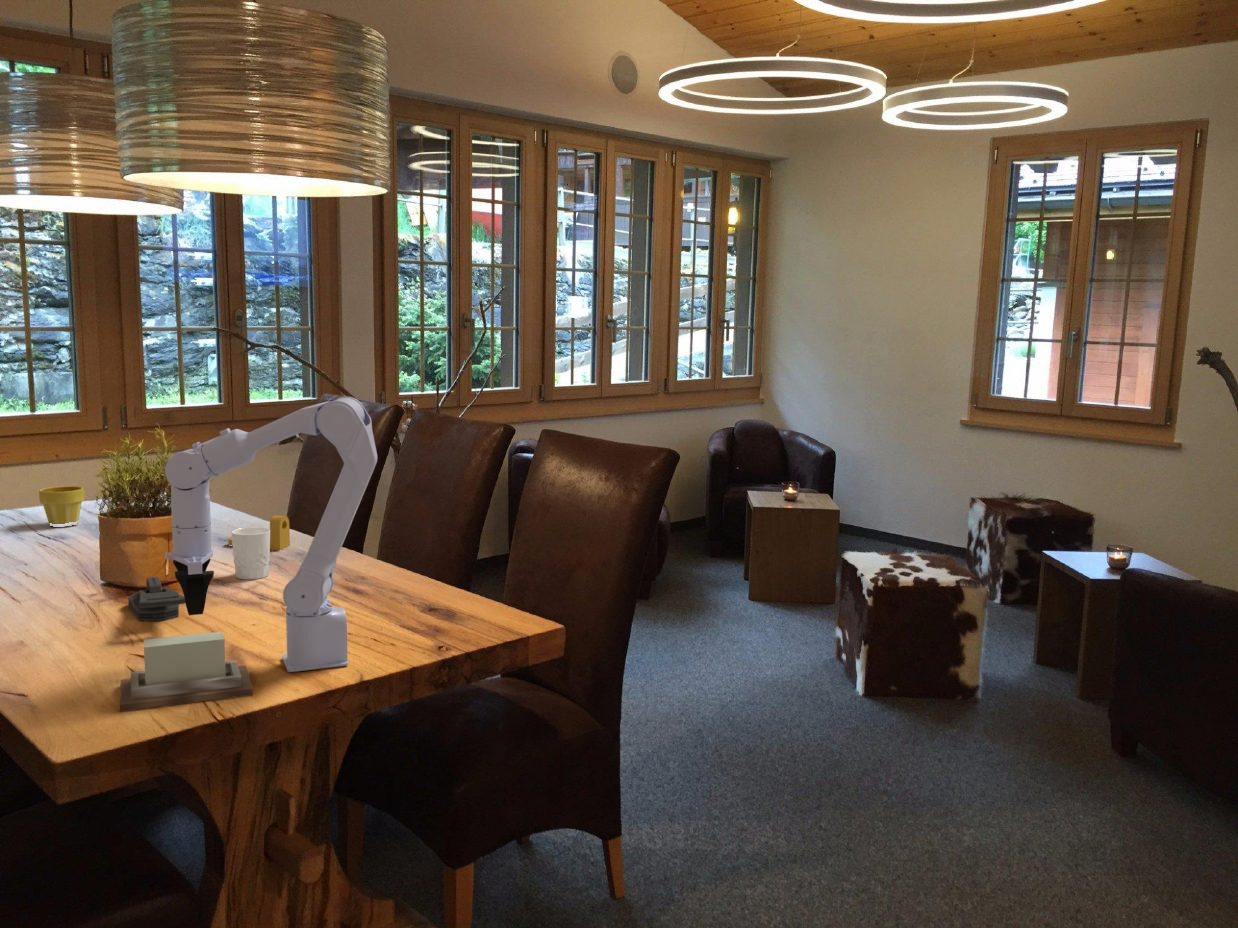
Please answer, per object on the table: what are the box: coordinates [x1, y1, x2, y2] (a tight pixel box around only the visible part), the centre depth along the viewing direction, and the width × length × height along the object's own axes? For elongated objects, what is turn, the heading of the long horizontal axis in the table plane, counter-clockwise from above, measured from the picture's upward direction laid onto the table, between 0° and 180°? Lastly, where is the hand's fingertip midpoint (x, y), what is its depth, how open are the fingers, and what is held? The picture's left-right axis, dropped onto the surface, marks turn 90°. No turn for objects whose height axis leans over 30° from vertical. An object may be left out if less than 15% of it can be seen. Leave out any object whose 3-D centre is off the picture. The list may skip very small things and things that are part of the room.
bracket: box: [227, 515, 291, 551], centre depth 249 cm, size 15×4×8 cm, turn 77°
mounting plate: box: [119, 660, 254, 712], centre depth 154 cm, size 18×11×2 cm, turn 115°
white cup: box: [231, 526, 271, 581], centre depth 222 cm, size 8×8×10 cm
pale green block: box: [143, 631, 226, 686], centre depth 154 cm, size 11×4×7 cm, turn 115°
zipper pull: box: [127, 576, 186, 623], centre depth 190 cm, size 9×7×25 cm
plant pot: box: [38, 485, 85, 524], centre depth 268 cm, size 10×10×10 cm
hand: (194, 607), depth 165 cm, fingers open, 7 cm apart
